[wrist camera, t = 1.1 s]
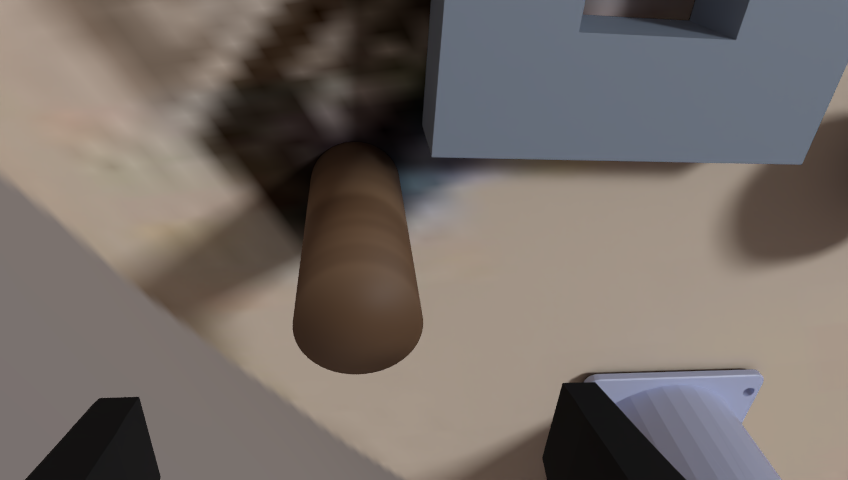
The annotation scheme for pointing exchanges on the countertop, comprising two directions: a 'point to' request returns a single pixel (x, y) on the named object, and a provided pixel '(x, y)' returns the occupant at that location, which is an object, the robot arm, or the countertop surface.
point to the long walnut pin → (356, 265)
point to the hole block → (631, 81)
